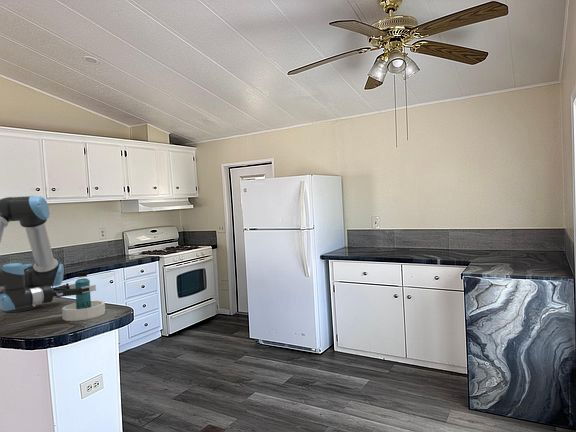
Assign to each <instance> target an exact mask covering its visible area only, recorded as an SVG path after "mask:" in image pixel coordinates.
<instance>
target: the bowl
mask: <svg viewBox="0 0 576 432" xmlns="http://www.w3.org/2000/svg"><path fill="white" fill-rule="evenodd" d="M61 313H62V317H61V318H62V321H66V322H77V321H86V320H91V319H94V318H95V319H96V318H99V317H101V316H102V315H103V316H104V315H105V313H106V303H105V301H103V300H91V307H90V308H85V309H77V307H76V302H74V303H71V304H67V305H64V306H63V307H61Z"/></svg>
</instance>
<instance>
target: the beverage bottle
mask: <svg viewBox="0 0 576 432" xmlns="http://www.w3.org/2000/svg"><path fill="white" fill-rule="evenodd" d="M83 277H84V278H83ZM85 277H88V274H87V271H78V272H77V278H78V279H76V280H75V282H74V284H75V285H76V288H81V287H86V286H91V285H90V283H91V282H90V279H88V278H85ZM91 301H92V299H91V292H86V293H82V295H80V294H79V295H75V303H76V307H77V309H85V308H90V307H91Z"/></svg>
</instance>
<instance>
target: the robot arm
mask: <svg viewBox="0 0 576 432" xmlns="http://www.w3.org/2000/svg"><path fill="white" fill-rule="evenodd" d="M49 207H50V206H49V203H48V201H47V200H46V198H44V197H43V196H39V195H29V196H7V197H3V198H0V243H2V242H1V241H2V238H3V234H4V231H5V228H7V227H8V225H9V222H19V224H20V226H21V227H23V228H24V229H25V232H26V235H27V239H28V242H29V245H30V249H31V253H32V256H33V260H34V264H33V265H32V263H26V264H23V263H21V262H19V263H18V262H14V263H12V262H11V263H6V264H3V265H2V268H0V288H3V289H4V292H2V293H0V310H1V311H4V312H5V313H20V312H26V311H31V310H35V309H36V308H39V307H40V305H41V304H47V303H51V302H52V301H53V300H54V299H53V298H55V297H56V298H63V297H69V296H76V295H79V294H80V295H82V293H86V292H90V293H91V292H94V291H97V287H96V284H93V285H92V284H91V285H90V286H86V287H81V288H76V285H75V283H71V284H70V283H65V284H63V285H62V283H63V280H64V273H65V269H64V264H63V263H59V261H58V260H57V259H56V258H54V255H53V251H52V248H51V247H52V246H51V242H50V239H49V235H48V231H47V228H46V223H47V221H48V219H49V217H50V208H49Z"/></svg>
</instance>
